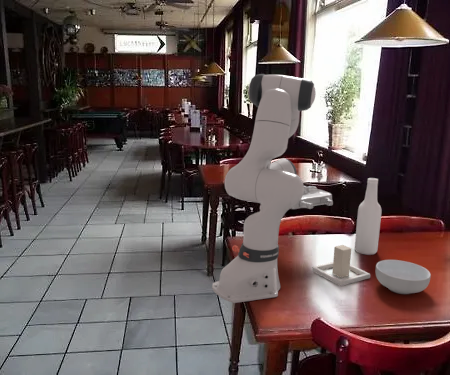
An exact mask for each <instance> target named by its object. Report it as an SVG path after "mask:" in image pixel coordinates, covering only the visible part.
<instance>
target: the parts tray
mask: <svg viewBox="0 0 450 375" xmlns="http://www.w3.org/2000/svg"><path fill="white" fill-rule="evenodd" d="M331 268H332V269H333V261H332V262H328V263H327V262H326V263H323V264H319V265H315V266H312V268H311V271H312V272H313V273H315V274H317V275H319V276H321V277H323V278H325V279H327V280H329V281H330V282H332V283H334V284H335V285H337V286H340V287H344V286H346V285H350V284H353V283H354V284H355V283H358V282H361V281H363V280H368V279H370V278H371V273H370V272H367V271H365V270H364V269H361V268H360V267H357V266H354V265H353V264H350V269H349V271H351V272H354V273H356V274H358V275H356V276H355V275H354V276H352V277H349V278H344V279H339V277H338V278H337V277H335V276H334V275H332V274H330V273H328V272H326V271H324V270H328V269H331Z"/></svg>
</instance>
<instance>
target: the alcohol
mask: <svg viewBox="0 0 450 375" xmlns="http://www.w3.org/2000/svg"><path fill="white" fill-rule="evenodd" d="M366 183H367V185H366V190H365V195H364V200H363V201H362V202H360V204H359V206H358V209H357V219H356V228H355V230H356V231H355V242H354V251H355V252H357V253H359V254H361V255H367V256H371V255H372V256H373V255H375V254H376V253H377V252H378V248H379V238H380V230H381V221H382V220H381V219H382V211H383V210H382V207H381V205H380V203H379V202H378V186H379V178H375V177H369V178H367V181H366Z"/></svg>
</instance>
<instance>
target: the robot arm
mask: <svg viewBox="0 0 450 375" xmlns="http://www.w3.org/2000/svg"><path fill="white" fill-rule="evenodd" d="M316 96H317V95H316V88H315V83H314V82H313V81H312V80H311V79H309V78H305V77H302V78H301V77H297V76H296V77H295V76H292V75H291V76H290V75H284V74H265V73H259V74H256V75H254V76H253V77H252V78H251V79H250V82H249V85H248V98H249V101H250V102H251V103H252V104H253V105H254V106H255V107H256V108H257V110H256V115H255V120H254V126H253V133H252V136H251V142H250V145H249V148H248V150H247V152H246V154H245V155H244V156H243V158H242V159H241V160H240V161H239V163H237V164H236V165H234V166H232V167H231V168H230V169H229V170H228V171H227V173H226V174H225V176H224V177H225V179H224V189H225V191H226V193H227V195H229V196H230V197H233V198H235V199H238V200H241V201H246V202H252V203H257V204H260V210H259V211H257V212H254V213H252V214H250V215H249V216H248V217H246V218H245V221H244V223H243V237H242V238H243V241H242V243H241V245H240V247H239V246H238V245H236V244H234V245H232V251H233V252H234V253H236V254H237V256H236V257H235V258H234V259H232V260H231V261H230V262H229V263H228V264H227V265H225V266H224V267H223V268H222V269H221V271H220V274H219V278H218V279H219V280H217V281H214V282H212V286H211V288H212V291H213V292H214V293H215V294H216V295H217V296H218V297H220V298H221V299H223V300H224V301H227V302H230V303H234V304H236V303H242V302H243V303H244V302H250V301H256V300H263V299H264V300H265V299H271V298H277V297H278V296H279V290H281V283H280V278H279V272H278V271H279V270H278V258H279V255H280V254H279V252H280V251H279V250H280V246H279V244H278V243H279V233H280V225H281V222H282V219H283V217H284V216H285V214H286V213H287V212H288V211H289V210H297V209H309V210H311V209H314V207H315V206H316V207H317V206H321V205H322V206H323V205H326V206H328V207H329V206H333V205H334V201H333V194H332V193H331V192H328V191H325V190H323V189H318V188H317V187H316V186H313V185H312V186H311V185H309V186H307V185H304V182H303V180H302V178H301V177H300V175H298V174H297V173H298V172H297V168H296V165H295V164H294V163H293V162H292V161H291V160H289V159H288V158H285V157H282V158H280V159H278V160H275V161H272V160H273V159H275V158H278V157H281V156H282V155H284V153H285V152H286V151H287V149H288V144H289V139H290V138H291V137H292V136H293V135H294V134H295V133H296V131H297V129H298V127H299V125H300V124H299V123H300V112H303V111H307V110H309V109H311V107H312V106H313V104H314V102H315V99H316Z"/></svg>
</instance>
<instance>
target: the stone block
mask: <svg viewBox="0 0 450 375" xmlns="http://www.w3.org/2000/svg"><path fill="white" fill-rule="evenodd" d="M351 257H352V248H351V247H348V246H346V245H344V244H341V245H336V246H334V249H333V260H332V262H333V267H332V272H331V273H332V274H333V276H334V275H335V276H337V277H338V278H344V277H348V276H350V270H349V269H350V265H351Z"/></svg>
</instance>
